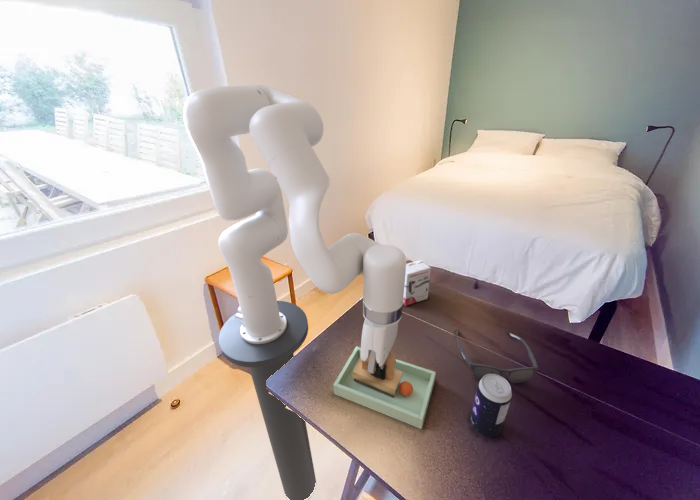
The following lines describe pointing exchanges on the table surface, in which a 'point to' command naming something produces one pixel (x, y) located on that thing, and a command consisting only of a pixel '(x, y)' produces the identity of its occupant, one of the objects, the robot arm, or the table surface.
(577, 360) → the table surface
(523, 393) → the table surface
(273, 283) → the robot arm
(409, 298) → the ink box
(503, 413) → the beverage can
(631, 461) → the table surface
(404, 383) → the crumb ball
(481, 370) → the sunglasses
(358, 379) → the brush
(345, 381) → the tray
